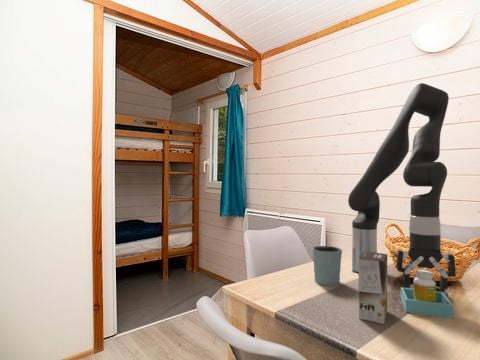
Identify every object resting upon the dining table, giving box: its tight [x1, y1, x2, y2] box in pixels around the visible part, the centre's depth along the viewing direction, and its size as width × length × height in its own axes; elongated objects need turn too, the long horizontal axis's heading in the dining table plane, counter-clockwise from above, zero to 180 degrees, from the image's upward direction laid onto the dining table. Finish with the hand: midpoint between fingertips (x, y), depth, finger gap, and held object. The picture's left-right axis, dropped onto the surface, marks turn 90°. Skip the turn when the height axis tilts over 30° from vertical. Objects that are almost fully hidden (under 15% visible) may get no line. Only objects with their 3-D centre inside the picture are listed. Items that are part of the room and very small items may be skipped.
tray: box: [400, 287, 454, 319], centre depth 85 cm, size 11×10×4 cm
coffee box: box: [358, 252, 388, 325], centre depth 81 cm, size 9×6×16 cm
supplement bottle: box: [413, 269, 437, 302], centre depth 85 cm, size 5×5×10 cm
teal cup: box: [312, 245, 343, 287], centre depth 107 cm, size 10×10×12 cm
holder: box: [408, 283, 449, 299], centre depth 94 cm, size 10×10×2 cm
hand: (424, 288), depth 85 cm, fingers open, 8 cm apart
